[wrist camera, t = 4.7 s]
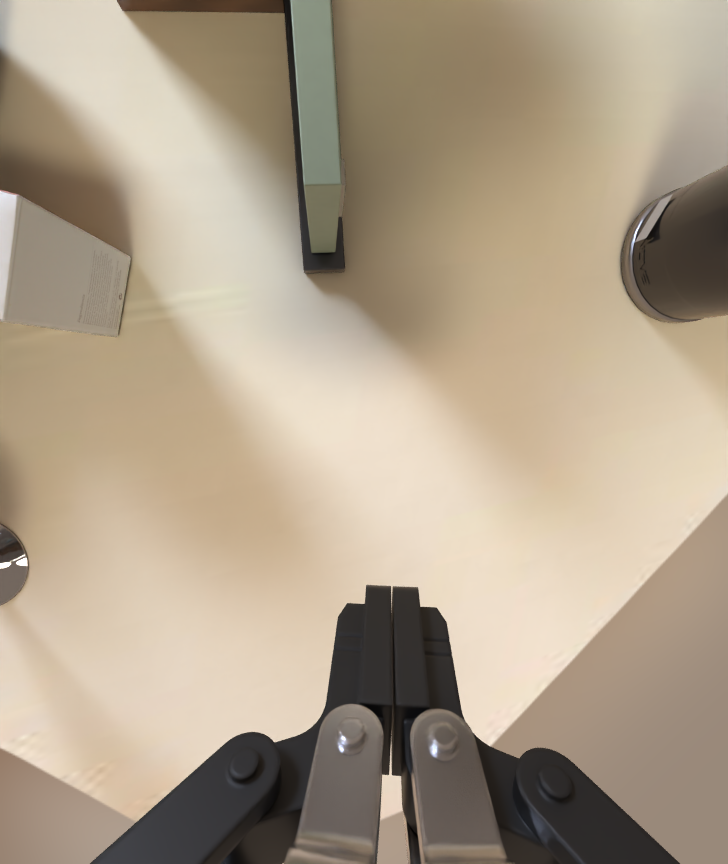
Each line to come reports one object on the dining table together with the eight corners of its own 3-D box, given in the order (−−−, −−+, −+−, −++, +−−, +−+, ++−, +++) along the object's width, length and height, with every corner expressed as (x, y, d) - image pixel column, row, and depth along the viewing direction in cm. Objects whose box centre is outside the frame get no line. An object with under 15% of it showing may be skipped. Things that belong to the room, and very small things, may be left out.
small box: (134, 257, 28) (24, 193, 18) (119, 339, 29) (6, 324, 19) (6, 222, 27) (-188, 134, 17) (-6, 308, 28) (-199, 274, 18)
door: (325, -5, 26) (326, -254, 16) (341, 252, 28) (351, 184, 18) (292, -5, 26) (271, -257, 15) (311, 253, 28) (303, 185, 18)
